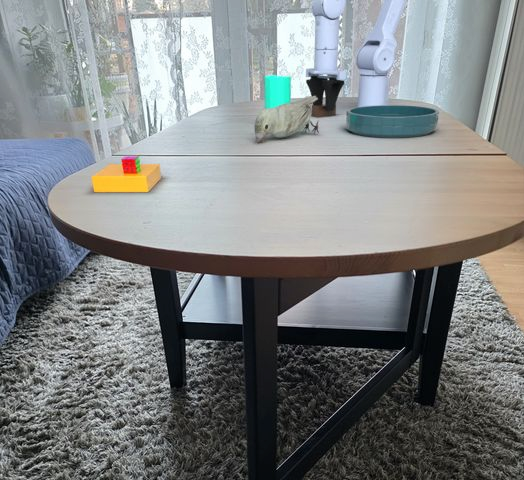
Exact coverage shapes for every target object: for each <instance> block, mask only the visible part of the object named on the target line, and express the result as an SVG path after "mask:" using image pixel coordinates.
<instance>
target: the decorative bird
mask: <svg viewBox="0 0 524 480" xmlns="http://www.w3.org/2000/svg"><path fill="white" fill-rule="evenodd" d="M317 99H318V98H316V96H311V95H310V96H307V97H303V98H302V99H299V100H297V101H293V102H292V101H291V103H286V104H282V105H279V106H277V107H275V108H268V109H265V108H264V110H262V111H260V112H259V113H258V115H257V116H256V118H255V122H254V136H255V140H256V143H257V144H259V143H260V142H261V141H262V140H263V139H264V138H265V137H266V136H268V135H271V136H272V137H274V138H279V139H280V138H287V137H289V136H292V135H295V134H296V133H298V132H300V131H303V132H305V134H306V133H307V130H308V131H310V125H311V127H313V128H312V130H311V133H313V134H314V135H316V132H317V133H318V134H320V133H319V132H320V131H319V122H320V120H319V119H318V120H317V121H316V124H313V122H312V120H311V115H312V105H313V102H315V101H316V100H317Z"/></svg>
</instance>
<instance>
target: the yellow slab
mask: <svg viewBox="0 0 524 480" xmlns="http://www.w3.org/2000/svg"><path fill="white" fill-rule="evenodd" d="M161 179H162V173H161V164H160V163H141V161H140V156H139V155H125V156H123V157H122V158H121V163H116V164H115V163H109V164H108V165H107V166H105V167H104V168H101V170H99V171H98V172H96V173H94V174H93V175H92V176H91V183H92V188H93V192H94V193H149V192H150V191H151V190H152V189H153V188H154V187H155V185H157V184H158V182H159V181H160V180H161Z"/></svg>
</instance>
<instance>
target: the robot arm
mask: <svg viewBox="0 0 524 480" xmlns="http://www.w3.org/2000/svg"><path fill="white" fill-rule="evenodd" d="M347 1H348V0H313V3H312V4H311V6H310V8H311V9H310V10H311V13H312V15H313V17H314V21H315V22H314V24H315V25H314V58H313V59H314V60H313V62H314V63H313V68H312V67H311V68H306V69H305V78H307V79H305V83H306V85H307V88H308V90H309V92H310V97H311V96H316V98H318V99H317V100H316V101H315V102H313V103H312V105H320V104H325V105H326V111H334V109H335V105H336V106H337V101H338V98H339V95H340V92H341V90H342V88H343V87H344V85H345V81H346V80H347V70H342V69H338V56H339V55H338V54H339V53H338V52H339V35H340V16H341V15H342V14H344V11H345V9H346V2H347ZM407 2H408V0H383V2H382V4H381V6H380V10H379V13H378V16H377V18H376V21H375V24H374V27H373V29H372V30H371V31H370V32H369V34H368V35H367V36H366V37H365V39H364V41H363V43H362V45H361V46H360V47H359V49H358V50H357V52H356V55H355V65H356V67H357V69H358V70H359V71H358V75H359V78H358V79H359V80H358V92H357V94H358V95H357V106H356V107H363V106H376V105H389V96H390V86H391V85H390V80H389V78H388V76H389V73H390V70H392V68H393V66H394V64H395V60H396V50H397V47H398V41H397V39H396V37H395V34H396V32H397V30H398V27H399V24H400V21H401V18H402V15H403V13H404V10H405V7H406V5H407ZM324 100H325V103H323V102H324Z"/></svg>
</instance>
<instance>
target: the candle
mask: <svg viewBox="0 0 524 480" xmlns="http://www.w3.org/2000/svg"><path fill="white" fill-rule="evenodd" d="M276 74H277V75H276ZM276 74H269V75H264V79H263V80H264V110H265V109H268V108H275V107H277V106H279V105H282V104H286V103H292V76H290V75H288V76H282V75H279V69H278V68H277V69H276Z"/></svg>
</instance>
